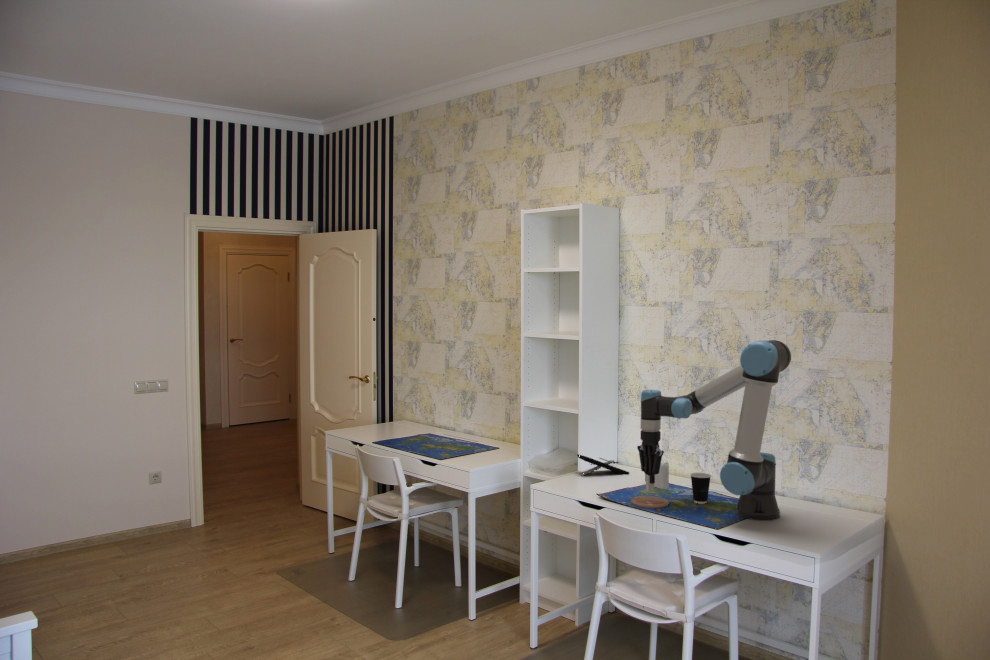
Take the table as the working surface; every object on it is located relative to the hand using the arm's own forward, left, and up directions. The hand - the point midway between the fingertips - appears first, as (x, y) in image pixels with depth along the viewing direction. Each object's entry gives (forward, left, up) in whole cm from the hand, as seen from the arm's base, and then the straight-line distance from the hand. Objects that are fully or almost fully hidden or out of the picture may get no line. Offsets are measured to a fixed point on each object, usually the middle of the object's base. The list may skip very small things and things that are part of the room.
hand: (649, 491), depth 280 cm
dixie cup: (-8, -18, -5) cm, 20 cm away
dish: (0, 0, -5) cm, 5 cm away
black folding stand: (+48, -13, -5) cm, 50 cm away
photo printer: (+18, -19, -5) cm, 27 cm away
